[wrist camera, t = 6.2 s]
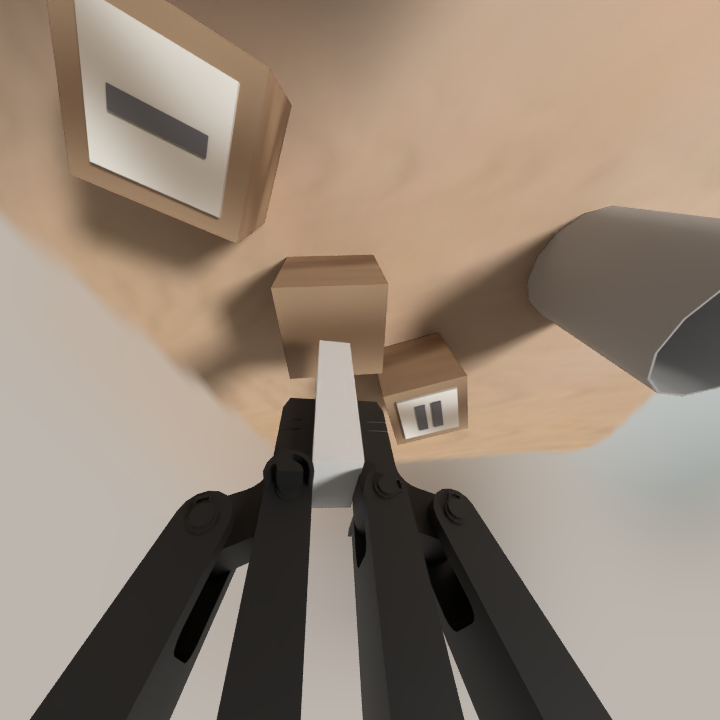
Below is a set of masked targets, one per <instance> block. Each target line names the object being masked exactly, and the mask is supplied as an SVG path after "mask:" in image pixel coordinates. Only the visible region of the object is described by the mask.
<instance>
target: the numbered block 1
mask: <svg viewBox="0 0 720 720" xmlns="http://www.w3.org/2000/svg"><path fill="white" fill-rule="evenodd" d="M47 6H48V13H49V21H50V28H51V36H52V44H53V51H54V59H55V66H56V74H57V81H58V89H59V96H60V104H61V111H62V119H63V126H64V134H65V141H66V149H67V156H68V164H69V171H70V175H73V176H75V177H78V178H80V179H82V180H85V181H87V182H90V183H92V184H94V185H97V186H99V187H102V188H104V189H107V190H109V191H111V192H114V193H116V194H119V195H121V196H123V197H126V198H128V199H131V200H133V201H135V202H138V203H140V204H143V205H145V206H147V207H150V208H152V209H155V210H157V211H159V212H162V213H164V214H167V215H169V216H171V217H174V218H176V219H179V220H181V221H183V222H186V223H188V224H191V225H193V226H195V227H198V228H200V229H203V230H205V231H208V232H210V233H212V234H215V235H217V236H220V237H222V238H224V239H227V240H229V241H232V242H234V243H236V244H238V243H239V242H240V241H242V240H243V239H244V238H245V237H247V236H248V235H249V234H251V233H252V232H253V231H255V230H256V229H257V228H259V227H260V226H261V225H263V224H264V223H265V219H266V215H267V210H268V206H269V201H270V197H271V193H272V188H273V184H274V180H275V175H276V171H277V167H278V162H279V158H280V154H281V149H282V145H283V140H284V136H285V132H286V127H287V123H288V119H289V114H290V110H291V106H292V105H291V103H290V102H289V100H288V98H287V96H286V95H285V93H284V91H283V90H282V88H281V86H280V85H279V83H278V81H277V79H276V78H275V76H274V74H273V73H272V71H271V69H270V68H269V67H268V66H266V65H265V64H263V63H262V62H260V61H259V60H257V59H256V58H254V57H252V56H251V55H249V54H248V53H246V52H245V51H243V50H242V49H240V48H239V47H237V46H236V45H234V44H232V43H231V42H229V41H228V40H226V39H225V38H223V37H222V36H220V35H219V34H217V33H215V32H214V31H212V30H211V29H209V28H208V27H206V26H205V25H203V24H202V23H200V22H198V21H197V20H195V19H194V18H192V17H191V16H189V15H188V14H186V13H185V12H183V11H182V10H180V9H178V8H177V7H175V6H174V5H172V4H171V3H169V2H168V1H166V0H47Z"/></svg>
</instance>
